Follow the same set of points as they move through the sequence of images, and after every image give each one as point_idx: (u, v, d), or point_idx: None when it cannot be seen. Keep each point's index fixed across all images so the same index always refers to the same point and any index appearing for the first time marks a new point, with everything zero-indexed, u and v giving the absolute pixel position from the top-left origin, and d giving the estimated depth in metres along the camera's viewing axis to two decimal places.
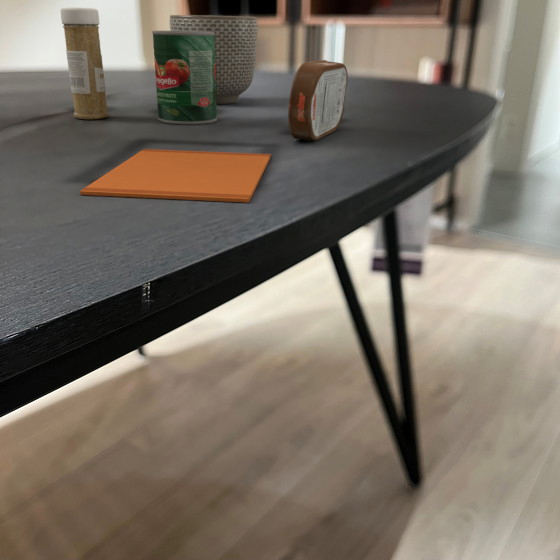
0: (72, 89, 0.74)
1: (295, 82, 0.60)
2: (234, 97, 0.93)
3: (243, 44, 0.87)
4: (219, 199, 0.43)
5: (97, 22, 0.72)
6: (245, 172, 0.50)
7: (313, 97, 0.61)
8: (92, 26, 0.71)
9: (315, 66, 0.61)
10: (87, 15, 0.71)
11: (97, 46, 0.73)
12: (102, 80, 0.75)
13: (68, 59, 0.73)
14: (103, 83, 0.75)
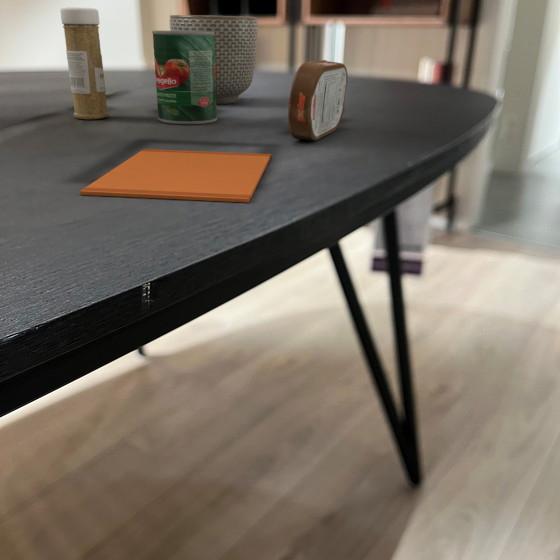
0: (72, 89, 0.74)
1: (295, 82, 0.60)
2: (234, 97, 0.93)
3: (243, 44, 0.87)
4: (219, 199, 0.43)
5: (97, 22, 0.72)
6: (245, 172, 0.50)
7: (313, 97, 0.61)
8: (92, 26, 0.71)
9: (315, 66, 0.61)
10: (87, 15, 0.71)
11: (97, 46, 0.73)
12: (102, 80, 0.75)
13: (68, 59, 0.73)
14: (103, 83, 0.75)
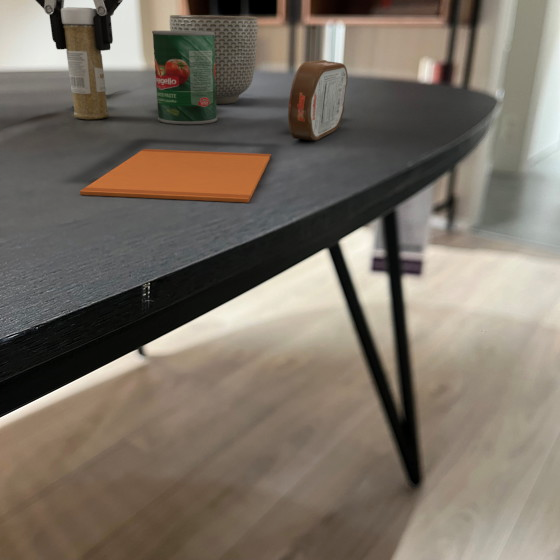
0: (72, 89, 0.74)
1: (295, 82, 0.60)
2: (234, 97, 0.93)
3: (243, 44, 0.87)
4: (219, 199, 0.43)
5: None
6: (245, 172, 0.50)
7: (313, 97, 0.61)
8: (92, 26, 0.71)
9: (315, 66, 0.61)
10: (88, 15, 0.71)
11: None
12: (102, 80, 0.75)
13: (68, 59, 0.73)
14: (103, 83, 0.75)
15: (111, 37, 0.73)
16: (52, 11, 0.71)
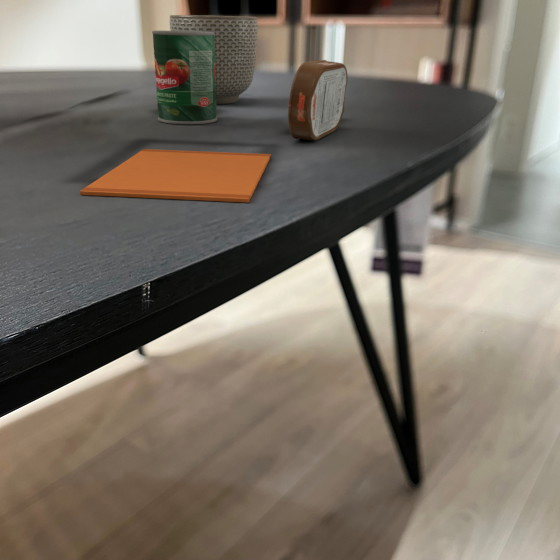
0: None
1: (295, 82, 0.60)
2: (234, 97, 0.93)
3: (243, 44, 0.87)
4: (219, 199, 0.43)
5: None
6: (245, 172, 0.50)
7: (313, 97, 0.61)
8: None
9: (315, 66, 0.61)
10: None
11: None
12: None
13: None
14: None
15: None
16: None
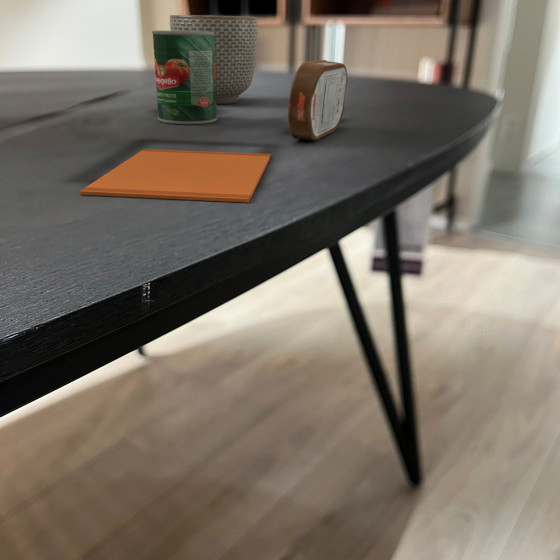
0: None
1: (295, 82, 0.60)
2: (234, 97, 0.93)
3: (243, 44, 0.87)
4: (219, 199, 0.43)
5: None
6: (245, 172, 0.50)
7: (313, 97, 0.61)
8: None
9: (315, 66, 0.61)
10: None
11: None
12: None
13: None
14: None
15: None
16: None
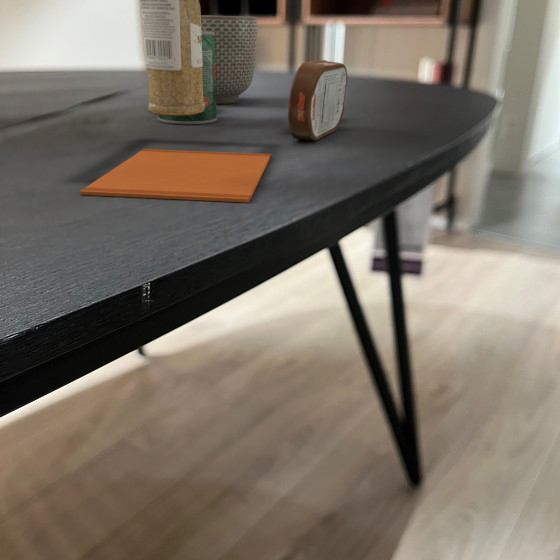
0: (148, 62, 0.43)
1: (295, 82, 0.60)
2: (234, 97, 0.93)
3: (243, 44, 0.87)
4: (219, 199, 0.43)
5: None
6: (245, 172, 0.50)
7: (313, 97, 0.61)
8: None
9: (315, 66, 0.61)
10: None
11: None
12: (200, 47, 0.43)
13: (144, 8, 0.41)
14: (201, 52, 0.43)
15: None
16: None
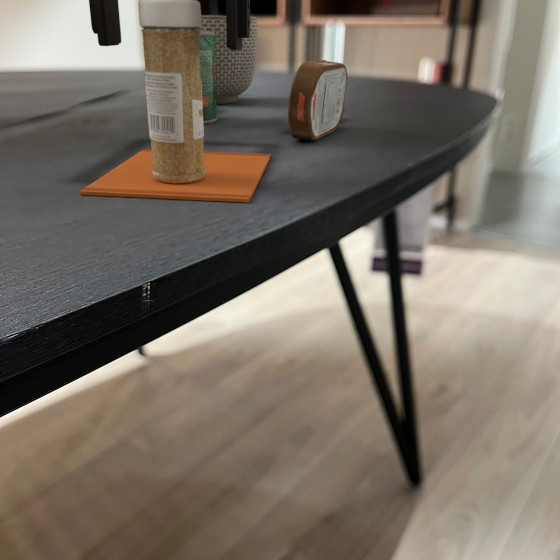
0: (152, 135, 0.45)
1: (295, 82, 0.60)
2: (234, 97, 0.93)
3: (243, 44, 0.87)
4: (219, 199, 0.43)
5: (199, 24, 0.42)
6: (245, 172, 0.50)
7: (313, 97, 0.61)
8: (192, 30, 0.42)
9: (315, 66, 0.61)
10: (187, 12, 0.41)
11: (197, 64, 0.43)
12: (202, 119, 0.45)
13: (148, 86, 0.43)
14: (202, 124, 0.46)
15: (249, 27, 0.43)
16: None
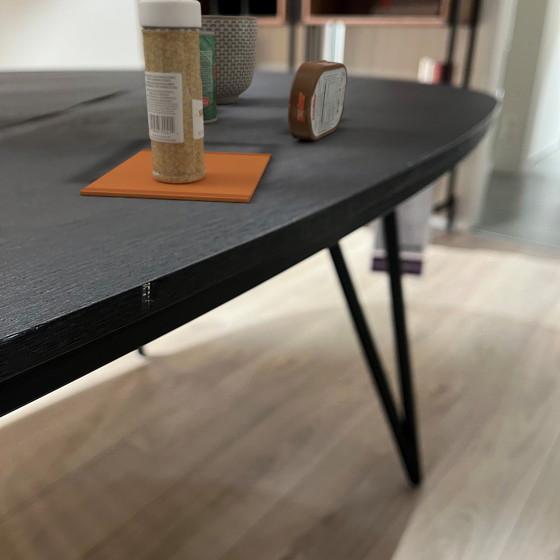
0: (152, 135, 0.45)
1: (295, 82, 0.60)
2: (234, 97, 0.93)
3: (243, 44, 0.87)
4: (219, 199, 0.43)
5: (199, 23, 0.42)
6: (245, 172, 0.50)
7: (313, 97, 0.61)
8: (192, 30, 0.42)
9: (315, 66, 0.61)
10: (187, 12, 0.41)
11: (197, 64, 0.43)
12: (202, 119, 0.45)
13: (148, 86, 0.43)
14: (202, 124, 0.46)
15: None
16: None
